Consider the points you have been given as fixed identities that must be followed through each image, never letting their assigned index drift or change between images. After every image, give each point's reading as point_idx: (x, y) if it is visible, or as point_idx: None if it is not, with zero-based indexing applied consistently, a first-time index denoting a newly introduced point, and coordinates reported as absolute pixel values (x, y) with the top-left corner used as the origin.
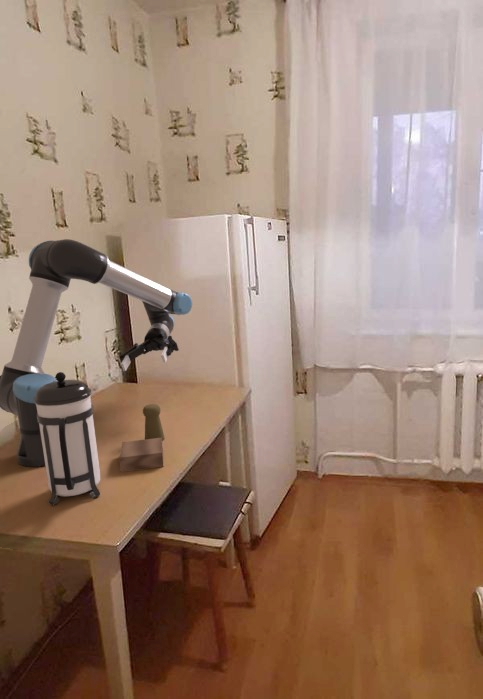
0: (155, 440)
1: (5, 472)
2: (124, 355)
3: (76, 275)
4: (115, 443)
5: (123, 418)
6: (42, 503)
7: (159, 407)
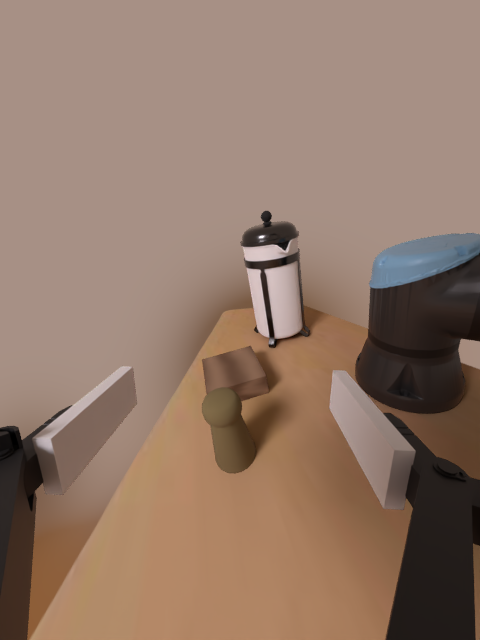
0: (215, 384)
1: None
2: (445, 463)
3: None
4: (311, 431)
5: None
6: None
7: (202, 405)
